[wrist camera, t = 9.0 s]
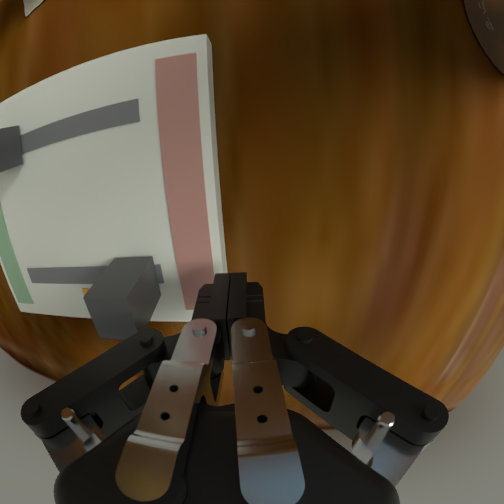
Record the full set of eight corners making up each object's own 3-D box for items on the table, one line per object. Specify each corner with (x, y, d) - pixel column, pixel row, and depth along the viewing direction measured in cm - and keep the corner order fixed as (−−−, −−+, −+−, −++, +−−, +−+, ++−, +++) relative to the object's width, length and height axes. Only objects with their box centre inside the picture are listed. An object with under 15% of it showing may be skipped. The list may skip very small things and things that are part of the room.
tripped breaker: (152, 256, 15) (126, 298, 11) (161, 294, 16) (141, 341, 12) (114, 257, 15) (82, 297, 11) (125, 294, 16) (99, 338, 12)
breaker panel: (211, 44, 12) (206, 33, 10) (231, 308, 19) (229, 328, 17) (-11, 118, 12) (-29, 121, 10) (34, 303, 19) (22, 316, 18)
